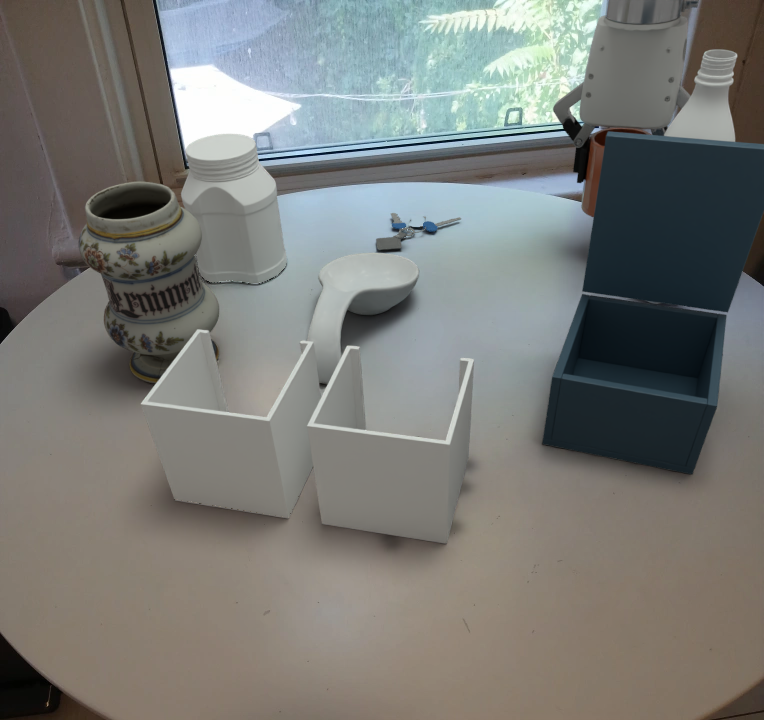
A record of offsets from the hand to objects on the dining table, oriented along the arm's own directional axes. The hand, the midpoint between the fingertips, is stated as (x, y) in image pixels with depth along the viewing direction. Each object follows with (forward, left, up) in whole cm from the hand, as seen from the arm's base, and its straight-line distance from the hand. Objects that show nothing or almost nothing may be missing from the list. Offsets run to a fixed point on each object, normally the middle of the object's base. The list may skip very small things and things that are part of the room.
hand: (615, 180), depth 87 cm
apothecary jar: (+52, -17, -10) cm, 56 cm away
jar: (+35, -30, -10) cm, 48 cm away
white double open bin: (+51, +10, -10) cm, 53 cm away
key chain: (+13, -23, -10) cm, 29 cm away
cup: (0, 0, -3) cm, 3 cm away
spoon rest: (+33, -8, -10) cm, 36 cm away
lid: (+18, +19, +6) cm, 27 cm away
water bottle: (+3, +11, -10) cm, 15 cm away
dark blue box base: (+23, +22, -10) cm, 33 cm away
